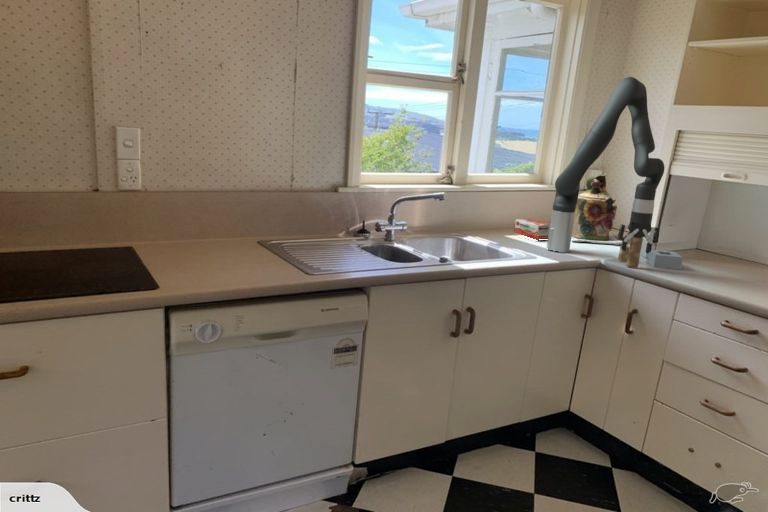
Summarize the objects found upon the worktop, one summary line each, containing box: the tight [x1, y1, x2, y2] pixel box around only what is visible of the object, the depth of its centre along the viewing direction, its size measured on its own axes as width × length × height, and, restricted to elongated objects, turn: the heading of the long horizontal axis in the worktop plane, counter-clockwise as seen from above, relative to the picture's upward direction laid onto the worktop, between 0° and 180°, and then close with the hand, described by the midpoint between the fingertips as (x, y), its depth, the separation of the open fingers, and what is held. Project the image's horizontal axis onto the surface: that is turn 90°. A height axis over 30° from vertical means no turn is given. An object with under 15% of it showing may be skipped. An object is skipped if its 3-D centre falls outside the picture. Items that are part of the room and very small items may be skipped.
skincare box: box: [640, 230, 657, 259], centre depth 233 cm, size 6×4×12 cm
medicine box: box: [513, 218, 551, 240], centre depth 258 cm, size 15×8×8 cm, turn 31°
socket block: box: [646, 249, 684, 271], centre depth 220 cm, size 10×10×5 cm
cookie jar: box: [571, 173, 622, 246], centre depth 262 cm, size 25×25×32 cm
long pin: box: [626, 236, 643, 270], centre depth 212 cm, size 3×3×12 cm
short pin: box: [617, 244, 630, 263], centre depth 223 cm, size 3×3×6 cm
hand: (635, 252), depth 213 cm, fingers open, 8 cm apart
